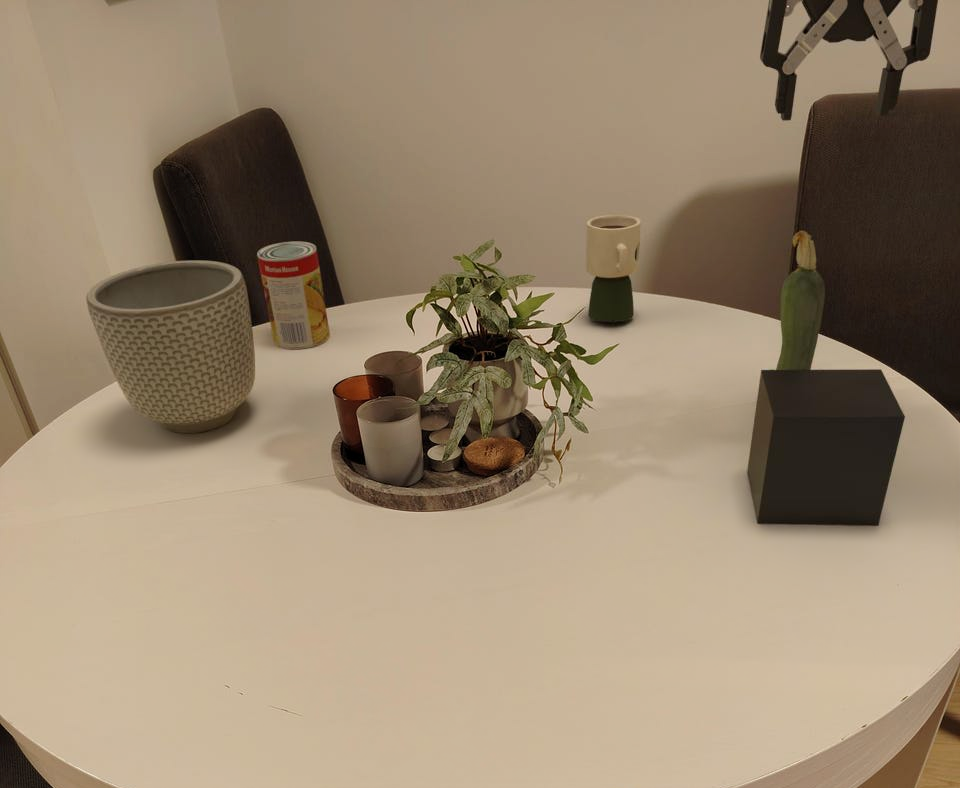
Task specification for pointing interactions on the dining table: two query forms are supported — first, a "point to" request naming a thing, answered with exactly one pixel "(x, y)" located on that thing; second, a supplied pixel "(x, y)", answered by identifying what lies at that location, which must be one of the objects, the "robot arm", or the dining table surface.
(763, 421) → the matte black cube
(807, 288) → the vegetable
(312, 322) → the canned food
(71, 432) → the dining table surface
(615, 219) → the character mug
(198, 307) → the planter
